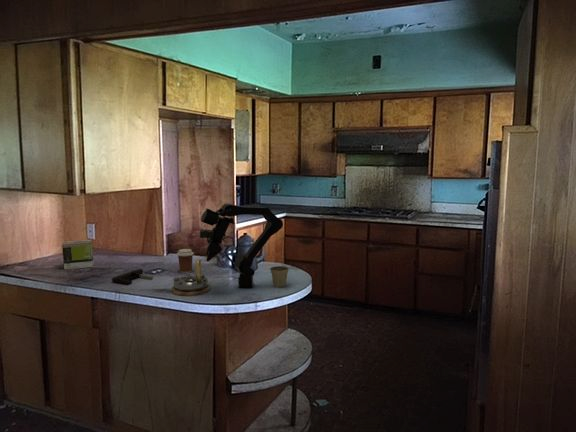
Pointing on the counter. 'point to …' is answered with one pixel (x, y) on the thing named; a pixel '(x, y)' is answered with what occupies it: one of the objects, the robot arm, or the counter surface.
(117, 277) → the door handle
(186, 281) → the ring nut
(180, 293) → the base
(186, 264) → the coffee cup
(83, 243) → the tea box
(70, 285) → the counter surface
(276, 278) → the flower pot
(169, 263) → the counter surface
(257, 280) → the counter surface
